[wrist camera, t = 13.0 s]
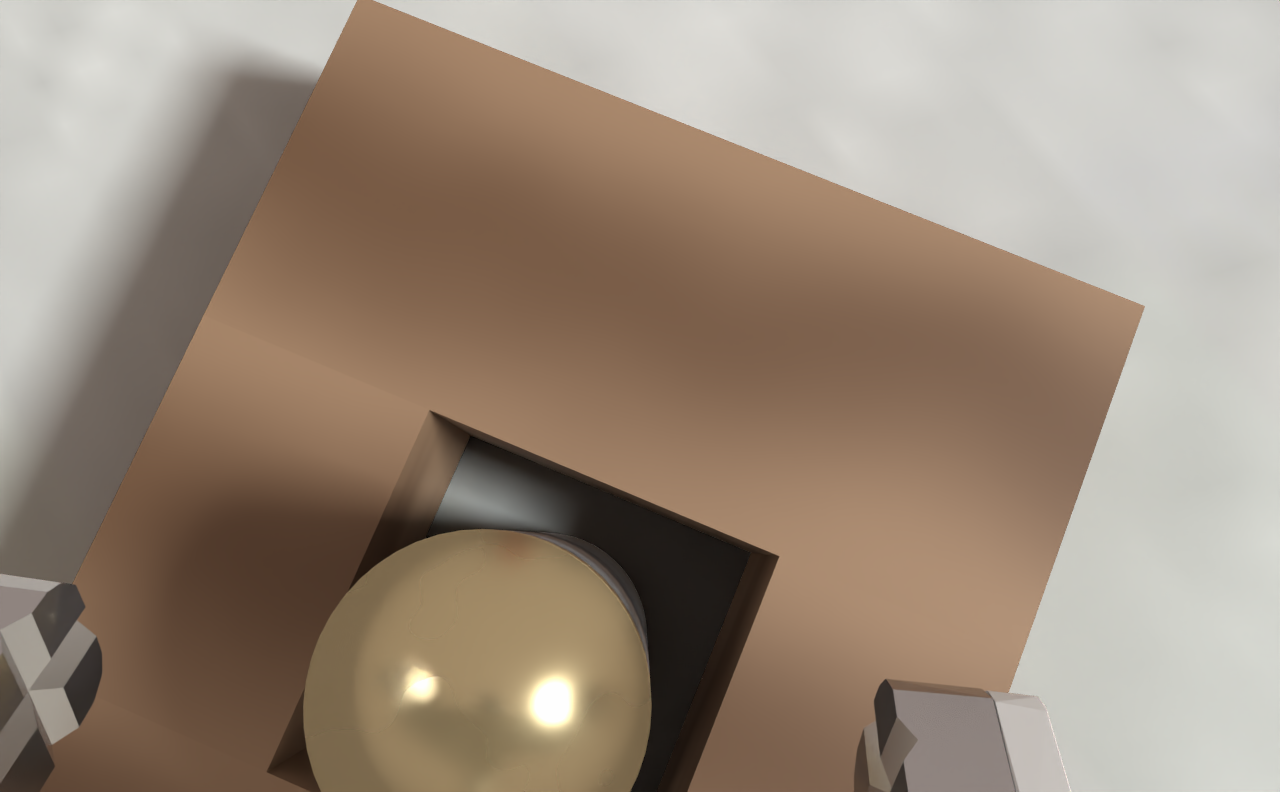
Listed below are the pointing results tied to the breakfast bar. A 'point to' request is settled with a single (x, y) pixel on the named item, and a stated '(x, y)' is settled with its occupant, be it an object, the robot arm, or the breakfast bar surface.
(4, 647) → the robot arm
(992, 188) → the breakfast bar surface
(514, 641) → the key peg
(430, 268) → the chuck block
